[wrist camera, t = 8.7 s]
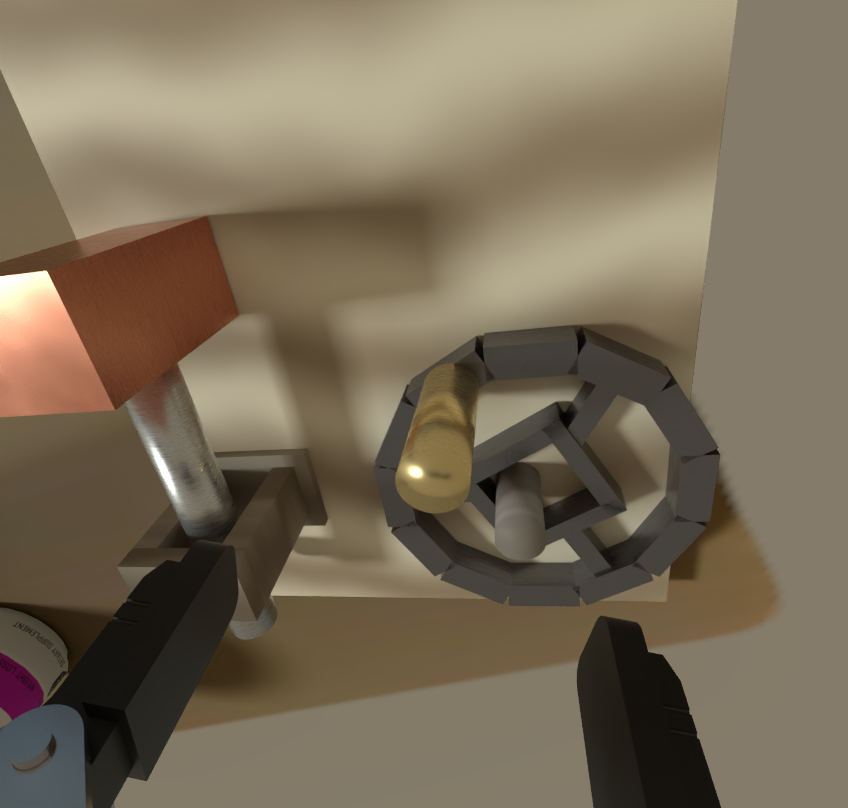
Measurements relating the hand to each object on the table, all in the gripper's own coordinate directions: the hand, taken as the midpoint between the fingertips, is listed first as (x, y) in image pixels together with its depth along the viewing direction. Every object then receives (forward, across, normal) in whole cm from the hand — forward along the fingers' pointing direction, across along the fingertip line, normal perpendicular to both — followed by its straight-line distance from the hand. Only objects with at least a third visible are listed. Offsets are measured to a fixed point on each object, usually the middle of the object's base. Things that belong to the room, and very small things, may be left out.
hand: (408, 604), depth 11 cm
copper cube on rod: (+12, +10, +4) cm, 16 cm away
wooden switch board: (+13, +3, 0) cm, 14 cm away
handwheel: (+12, -5, +4) cm, 13 cm away
